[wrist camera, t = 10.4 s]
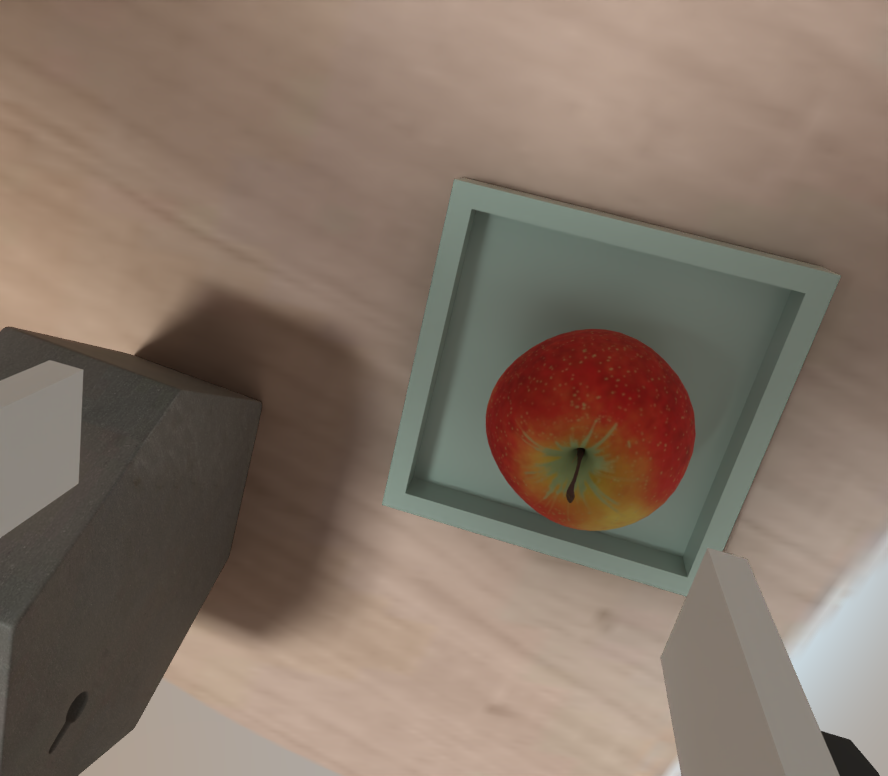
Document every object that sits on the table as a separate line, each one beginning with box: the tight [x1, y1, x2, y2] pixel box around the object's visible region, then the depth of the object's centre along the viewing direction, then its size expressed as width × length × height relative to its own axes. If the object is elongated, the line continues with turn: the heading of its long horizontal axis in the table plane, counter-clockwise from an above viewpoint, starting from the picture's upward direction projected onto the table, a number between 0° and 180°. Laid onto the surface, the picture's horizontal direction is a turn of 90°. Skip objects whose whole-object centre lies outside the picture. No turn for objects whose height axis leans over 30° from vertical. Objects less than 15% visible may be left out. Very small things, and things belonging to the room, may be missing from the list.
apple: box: [486, 329, 696, 531], centre depth 28 cm, size 8×8×10 cm
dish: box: [382, 177, 841, 597], centre depth 33 cm, size 16×16×2 cm
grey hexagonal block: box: [0, 327, 262, 776], centre depth 31 cm, size 17×8×21 cm
